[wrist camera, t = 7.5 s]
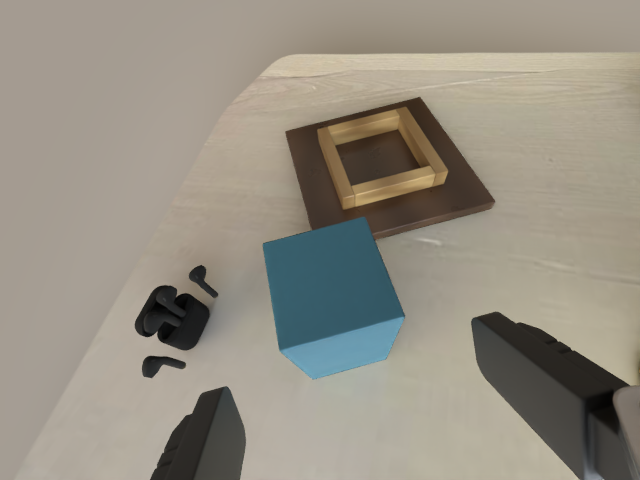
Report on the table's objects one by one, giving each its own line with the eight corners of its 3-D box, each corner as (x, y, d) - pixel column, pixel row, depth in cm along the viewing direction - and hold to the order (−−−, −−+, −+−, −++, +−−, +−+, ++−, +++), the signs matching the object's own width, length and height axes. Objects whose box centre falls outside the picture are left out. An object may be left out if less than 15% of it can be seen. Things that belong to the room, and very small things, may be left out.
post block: (362, 289, 21) (365, 215, 13) (386, 359, 19) (406, 317, 11) (297, 307, 21) (262, 242, 13) (312, 379, 18) (279, 352, 11)
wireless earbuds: (183, 385, 19) (132, 375, 15) (150, 374, 20) (92, 362, 15) (227, 285, 22) (196, 254, 18) (199, 279, 23) (162, 247, 19)
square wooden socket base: (418, 105, 31) (422, 82, 28) (491, 209, 23) (504, 188, 21) (287, 139, 30) (281, 117, 28) (318, 255, 23) (314, 238, 21)
